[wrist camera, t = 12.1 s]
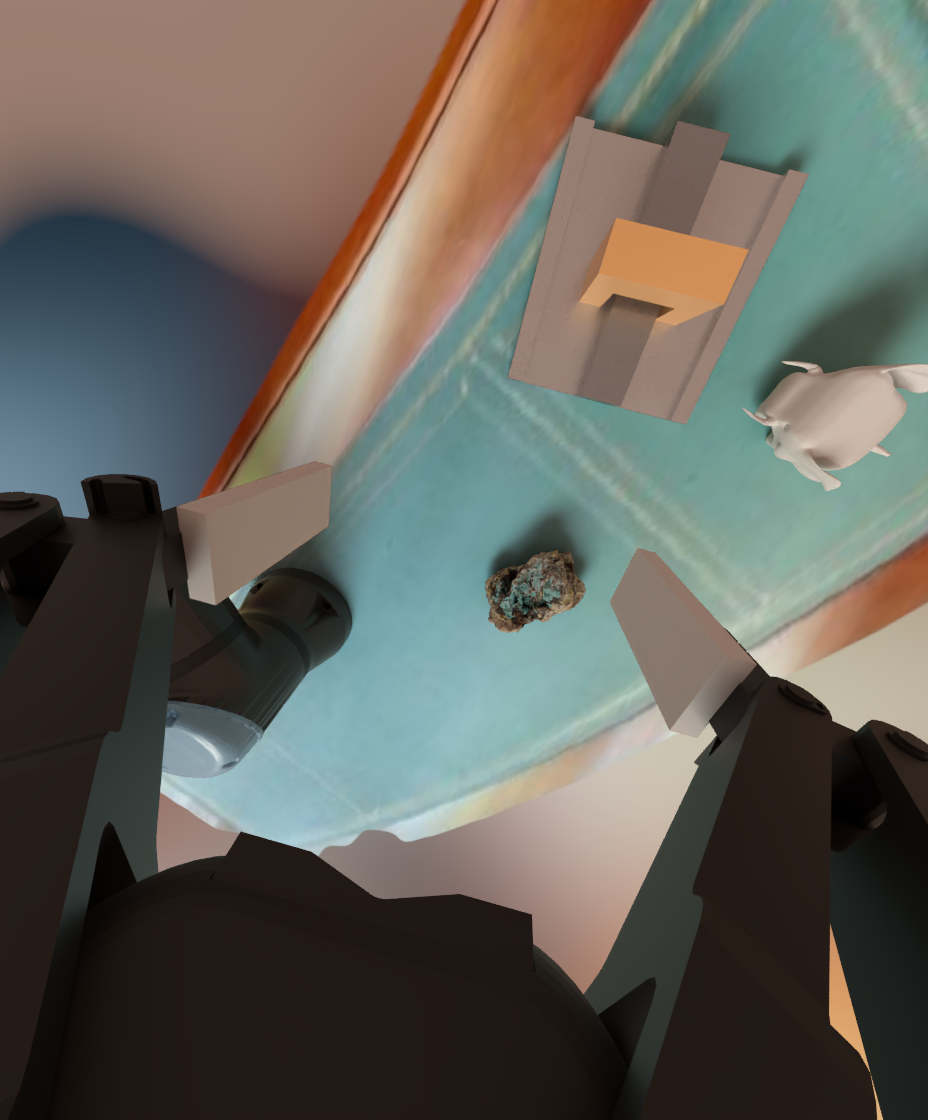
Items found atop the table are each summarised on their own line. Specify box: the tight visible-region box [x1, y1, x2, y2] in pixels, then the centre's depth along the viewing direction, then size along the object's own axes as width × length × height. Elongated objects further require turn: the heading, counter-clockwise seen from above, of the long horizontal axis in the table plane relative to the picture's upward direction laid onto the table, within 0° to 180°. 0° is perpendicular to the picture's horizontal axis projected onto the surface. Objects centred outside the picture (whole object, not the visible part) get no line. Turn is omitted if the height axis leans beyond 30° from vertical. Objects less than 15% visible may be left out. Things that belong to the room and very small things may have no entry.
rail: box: [508, 116, 809, 424], centre depth 30 cm, size 18×18×4 cm
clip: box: [579, 218, 749, 325], centre depth 27 cm, size 9×3×8 cm, turn 77°
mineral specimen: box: [485, 550, 586, 632], centre depth 43 cm, size 12×9×8 cm
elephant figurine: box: [742, 361, 928, 491], centre depth 30 cm, size 10×12×9 cm
